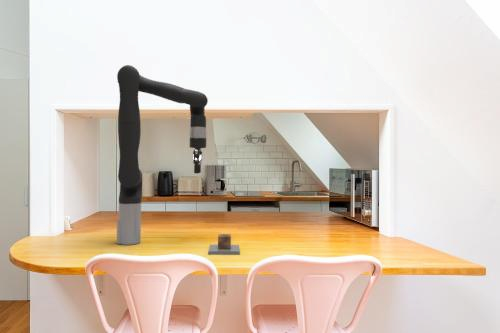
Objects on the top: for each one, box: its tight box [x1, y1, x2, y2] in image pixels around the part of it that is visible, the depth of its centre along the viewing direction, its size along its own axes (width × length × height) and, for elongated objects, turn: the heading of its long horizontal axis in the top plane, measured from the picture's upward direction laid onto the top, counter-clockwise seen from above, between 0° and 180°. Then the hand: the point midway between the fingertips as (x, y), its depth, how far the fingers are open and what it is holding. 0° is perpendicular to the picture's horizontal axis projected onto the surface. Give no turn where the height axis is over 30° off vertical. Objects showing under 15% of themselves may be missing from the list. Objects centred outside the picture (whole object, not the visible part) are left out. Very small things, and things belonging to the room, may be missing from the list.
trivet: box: [208, 244, 241, 255], centre depth 154 cm, size 12×12×1 cm
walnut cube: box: [217, 233, 232, 249], centre depth 154 cm, size 5×5×5 cm
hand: (197, 173), depth 176 cm, fingers open, 8 cm apart
